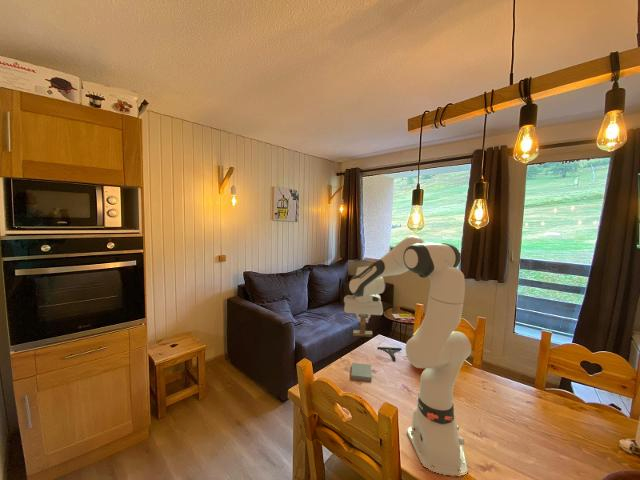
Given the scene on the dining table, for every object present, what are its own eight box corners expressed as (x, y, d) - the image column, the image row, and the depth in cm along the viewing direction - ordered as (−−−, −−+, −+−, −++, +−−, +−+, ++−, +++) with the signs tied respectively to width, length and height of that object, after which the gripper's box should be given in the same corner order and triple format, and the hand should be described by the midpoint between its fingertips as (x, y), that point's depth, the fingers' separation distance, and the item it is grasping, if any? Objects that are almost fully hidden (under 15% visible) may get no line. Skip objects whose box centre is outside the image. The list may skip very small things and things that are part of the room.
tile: (370, 368, 142) (371, 382, 130) (352, 367, 144) (351, 379, 132) (370, 364, 142) (371, 377, 130) (352, 362, 143) (351, 375, 132)
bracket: (381, 361, 150) (381, 356, 150) (377, 348, 165) (377, 344, 165) (407, 363, 150) (407, 358, 149) (400, 350, 164) (401, 345, 164)
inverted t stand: (372, 337, 137) (372, 317, 137) (353, 335, 139) (353, 316, 138) (372, 333, 141) (372, 314, 141) (353, 332, 143) (353, 313, 142)
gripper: (343, 296, 137) (343, 322, 138) (383, 298, 134) (382, 325, 135) (344, 293, 143) (343, 318, 144) (382, 295, 140) (381, 321, 141)
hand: (363, 321), depth 139 cm, fingers closed on inverted t stand, 2 cm apart
